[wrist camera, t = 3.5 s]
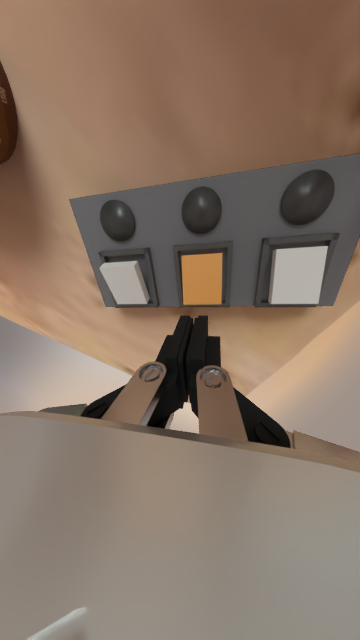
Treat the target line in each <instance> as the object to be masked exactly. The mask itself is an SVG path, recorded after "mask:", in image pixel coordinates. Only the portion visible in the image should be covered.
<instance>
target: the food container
mask: <svg viewBox="0 0 360 640" xmlns="http://www.w3.org/2000/svg"><path fill="white" fill-rule="evenodd" d="M17 131H18V126H17V115H16V108H15V103H14V99H13V95H12V91H11V88H10V85H9V82H8V79H7V76H6V73H5V71H4V69H3V66H2V64H1V62H0V164H2V163H4V162H6V161H7V160H8V159H9V158H10V157H11V155H12V154H13V152H14V149H15V146H16V141H17Z"/></svg>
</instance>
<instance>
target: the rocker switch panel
mask: <svg viewBox="0 0 360 640" xmlns="http://www.w3.org/2000/svg"><path fill="white" fill-rule="evenodd" d="M69 201H70V204H71V207H72V210H73V212H74V215H75V218H76V221H77V224H78V227H79V230H80V233H81V236H82V239H83V242H84V245H85V247H86V250H87V253H88V256H89V259H90V262H91V265H92V268H93V271H94V274H95V277H96V280H97V283H98V285H99V288H100V291H101V294H102V297H103V300H104V303H105V306H106V307H115V308H132V307H230V306H255V307H316V306H333V305H334V302H335V299H336V297H337V294H338V291H339V289H340V286H341V284H342V281H343V278H344V276H345V273H346V271H347V268H348V265H349V263H350V260H351V258H352V255H353V252H354V250H355V247H356V245H357V242H358V239H359V237H360V153H358V154H351V155H345V156H339V157H332V158H326V159H320V160H313V161H307V162H301V163H295V164H288V165H282V166H276V167H269V168H263V169H257V170H250V171H244V172H238V173H232V174H225V175H219V176H213V177H206V178H200V179H194V180H187V181H181V182H175V183H169V184H162V185H156V186H150V187H143V188H137V189H131V190H124V191H118V192H112V193H106V194H99V195H93V196H87V197H80V198H74V199H69ZM318 246H328V249H327V255H326V261H325V267H324V273H323V279H322V285H321V291H320V297H319V303H318V304H270V303H269V302H268V299H269V288H270V277H271V266H272V255H273V250H276V249H288V248H303V247H318ZM214 253H222V299H221V304H213V305H183V281H182V256H184V255H199V254H214ZM128 261H138V264H139V267H140V270H141V273H142V276H143V279H144V282H145V285H146V288H147V291H148V294H149V297H150V299H149V301H148V303H147V304H117V302H116V300H115V298H114V296H113V294H112V292H111V290H110V288H109V286H108V284H107V282H106V280H105V279H104V277H103V275H102V273H101V271H100V269H99V268H100V267H101V266H102V265H103V264H104V263H112V262H128Z"/></svg>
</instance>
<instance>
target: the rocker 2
mask: <svg viewBox="0 0 360 640" xmlns="http://www.w3.org/2000/svg"><path fill="white" fill-rule="evenodd" d="M327 249H328V246H318V247H303V248H288V249H276V250H273V255H272V266H271V277H270V288H269V299H268V302H269V303H270V304H318V303H319V297H320V291H321V285H322V279H323V273H324V267H325V261H326V255H327Z"/></svg>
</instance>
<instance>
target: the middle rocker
mask: <svg viewBox="0 0 360 640" xmlns="http://www.w3.org/2000/svg"><path fill="white" fill-rule="evenodd" d="M182 281H183V305H213V304H221V299H222V253H214V254H199V255H184V256H182Z"/></svg>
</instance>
